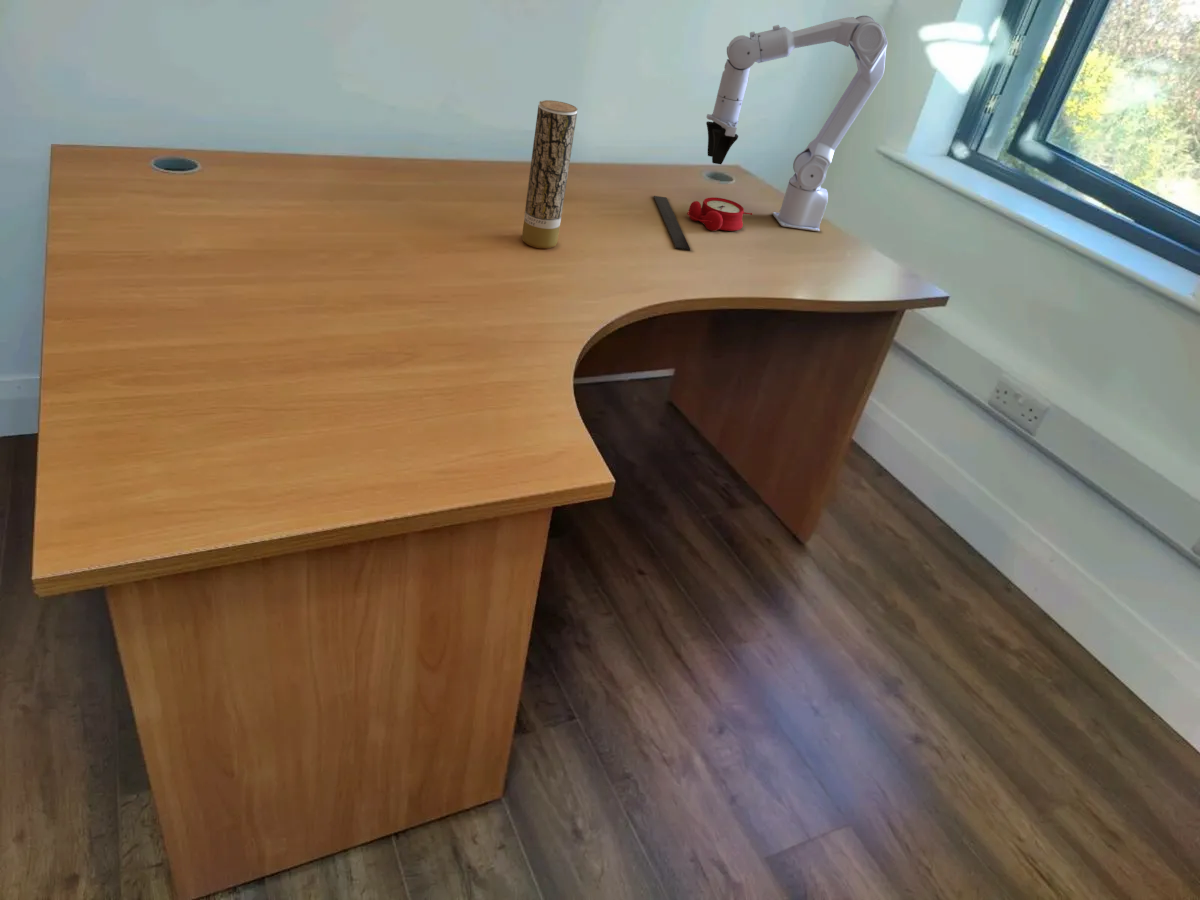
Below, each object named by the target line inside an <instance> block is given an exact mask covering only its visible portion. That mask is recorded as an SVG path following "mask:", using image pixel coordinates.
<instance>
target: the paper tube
mask: <svg viewBox="0 0 1200 900" xmlns="http://www.w3.org/2000/svg"><path fill="white" fill-rule="evenodd" d="M577 117H578V107H576V106H574V105H572V104H571V103H567V102H564V101H559V100H552V99H551V100H550V99H543V100H540V101H539V102H538V105H537V113H536V122H535V129H534V138H533V145H532V152H531V161H530V168H529V176H528V184H527V193H526V200H525V207H524V208H525V209H524V216H523V223H522V224H523V225H522V231H521V232H522V233H521V240H522V241H523V242H524V243H525V244H526V245H528V246H530V247H532V248H536V249H546V250H547V249H551V248H555V246H556V245H557V244H558V242H559V241H558V240H559V234H560V227H561V221H562V215H563V208H564V201H565V196H566V190H567V189H566V188H567V182H568V176H569V168H570V162H571V155H572V151H573V142H574V137H575V130H576V124H577Z"/></svg>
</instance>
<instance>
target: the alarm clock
mask: <svg viewBox="0 0 1200 900" xmlns="http://www.w3.org/2000/svg"><path fill="white" fill-rule="evenodd" d="M686 215H688V217H689V219H690V220H691V221H693V222H699V223H702V224H703V225H704V227H705V228H706V229H707V230H709V231H713V232H714V231H719V230H720V231H726V232H727V231H729V232H730V231H731V232H734V231H740V230H742V228H743V227H744V222H743V216H744V215H751V216H752V215H753V212H745V209H744V207H743V206H742V205H741V204H740V203H737V202H735V201H733V200H730V199H726V198H721V197H706V198H704V199H703V201H702V205H701V202H700V201H698V200H693V201H692V202H691V203H690V205H689V208H688V211H687V213H686Z"/></svg>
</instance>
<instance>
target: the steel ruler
mask: <svg viewBox="0 0 1200 900" xmlns="http://www.w3.org/2000/svg"><path fill="white" fill-rule="evenodd" d="M653 200H654V202H655V204H656V207H657V209H658V211H659V213H660V216H661V218H662V221H663V223H664V225H665V227H666V229H667V232H668V234H669V237H670V239H671V241H672V244H673V246H674V248H675V249H676V250H682V251H688V252H690V251H691V247H690V245H689V243H688V241H687V239H686V236H685V234H684V232H683V230H682V228H681V226H680V223H679V221H678V219H677V218H676V216H675V213H674V211H673V209H672V207H671V205H670V202H669V200H668V198H667V197H665V196H658V195H653Z"/></svg>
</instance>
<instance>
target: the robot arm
mask: <svg viewBox="0 0 1200 900" xmlns="http://www.w3.org/2000/svg"><path fill="white" fill-rule="evenodd" d="M830 42H834V43H837V44H840V45H841V46H844V47H848V48H849V47H850V49H851V50H852V51H853V53H854V59H855V62H856V68H857V71H856V72H855V75H854V76H853V78H852V79H851V80H850V82H849V84H848V86H847V87H846V89H845V90H844V92H843V94H842V95H841V97H840V98H839V100H838V102H837V104H836V105H835V107H834V108H833V110H832V111H831V113H830V114H829V116H828V118H827V119H826V121H825V122H824V124H823V126H822V127H821V129H820V130H819V132H818V133H817V136H816V137H815V138H814V139H812V140H811V141H810V142H809V143H808V145H807V146H806V148H805V149H804V150H802V151H801V152H800V153H798V154H797V155H796V156H795V158H794V159H793V163H792V168H793V172H794V174H793V175H792V176H791V177H790V178H789V180H788V183H787V187H786V190H785V193H784V195H783V200H782V203H781V206H780V209H779V212H776V211H773V212H772V215H773V217H774V218H775V219H776V221H777V222H778V224H779V225H780V226H781V227H784V228H792V229H799V230H806V231H813V232H820V231H821V229H820V226H821V223H822V220H823V217H824V215H825V212H826V208H827V206H828V201H829V192H828V190H827V189H826V188H823V187H822V185H823V184H824V182H825V181H826V177H827V172H828V169H829V167H830V165H831V163H832V162H833V157H834V153H835V151H836V149H837V148H838V146H839V145H840V143H841V142H842V140H843V138H844V137H845V136H846V134H847V133H848V131H849V129H850V128H851V126H852V125H853V123H854V121H855V120H856V119H857V117H858V115H859V114H860V113H861V111H862V109H863V108H864V106H865V104H867V101H868V100H869V99H870V97H871V95H872V94H873V92H874V90H875V89H876V88H877V86H878V85H879V83H880V81H881V79H882V78H883V77H884V74H885V66H886V55H887V53H886V52H887V47H888V44H889V42H888V38H887V35H886V32H885V28H884V27H883V25H882V24H880V23H879V22H877V21H876V20H875V19H874V18H873V17H871V16H869V15H867V14H866V15H865V14H863V15H859V16H856V17H855V16H847V17H842V18H838V19H834V20H831V21H826V22H822V23H820V24H816V25H813V26H808V27H805V28H801V29H797V30H793V31H791V30H790V29H788V27H786V26H782V27H781V26H780V25H779V24H776V25H773V26H772V29H769V30H764V31H760V32H756V33H755V31H750V32H749V36H748V35H747V36H746V35H744V34H743V35H737V36H735V37H733V38H732V39H731V40H730V42H729V44H728V46H726V56H727V59H726V62H725V63H724V70H723V71H722V74H721V77H720V82H719V86H718V90H717V93H716V94H717V95H716V98H715V103H714V107H713V111H712V113H711V114H709V113H707V114H706V119H707V120H709V121H706V122H705V124H706V128H707V157H710V158H711V163H712V164H715V165H722V164H723V162H724V160H725V158H726V157H727V154H728V152H729V151H730V149H731V147H733V145H734V144H735V142H736V141H737V140H738V139H739V135H738V134H737V127H738V125H739V118H740V115H741V111H742V110H741V109H742V105H743V102H744V99H745V94H746V90H747V86H748V83H749V79H750V77H749V75H750V71H751V68H752V66H753V65H754V64H755V63H757V64H761V63H766V62H771V61H774V60H778V59H784V58H788V57H789V56H790V54H791V53H792V52H793V50H794V49H798V48H803V47H809V46H814V45H820V44H825V43H830Z"/></svg>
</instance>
